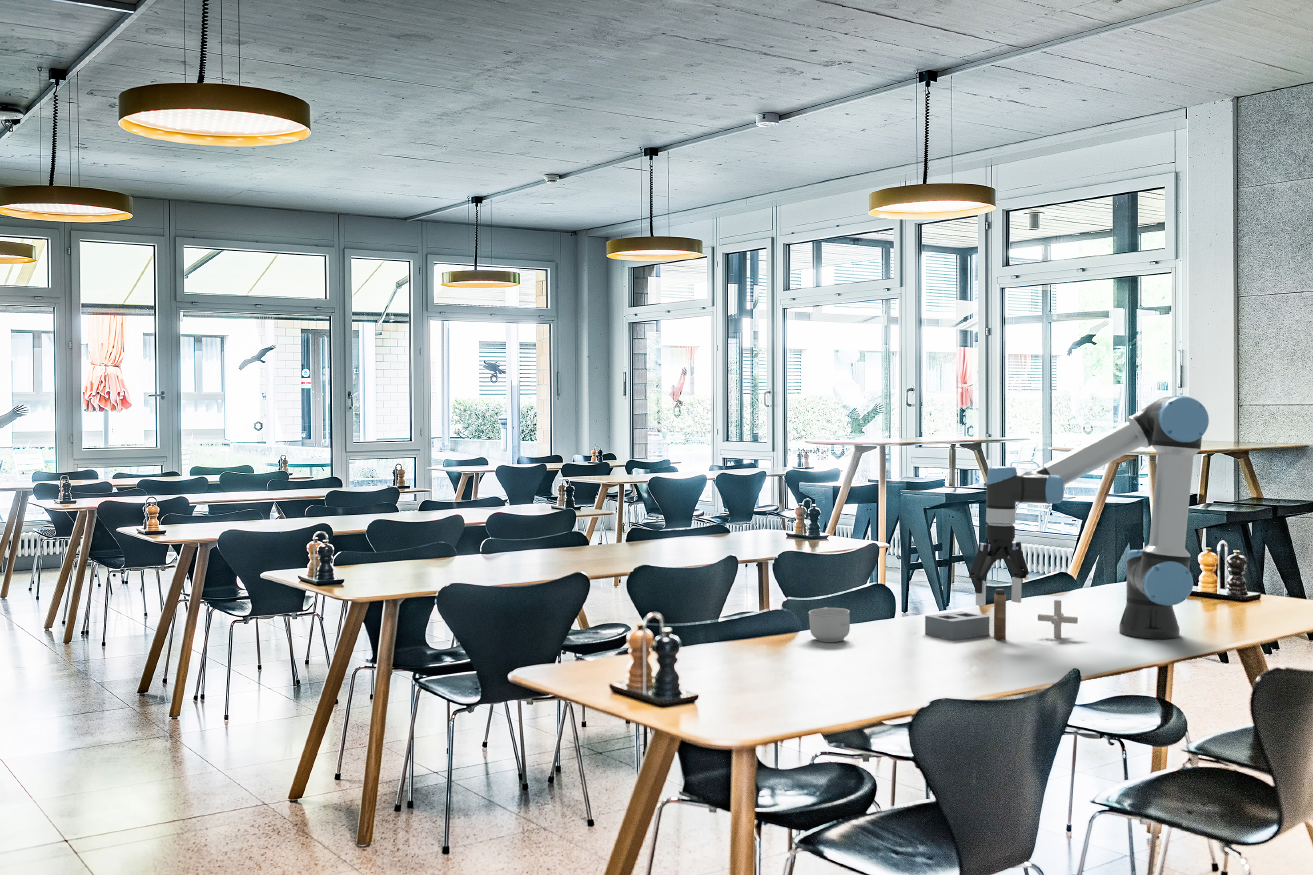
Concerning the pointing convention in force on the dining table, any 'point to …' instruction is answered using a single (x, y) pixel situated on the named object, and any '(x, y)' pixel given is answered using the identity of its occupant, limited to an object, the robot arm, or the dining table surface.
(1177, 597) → the robot arm
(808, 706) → the dining table surface
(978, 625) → the holder block
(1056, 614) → the pipe connector
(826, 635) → the teacup
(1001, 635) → the peg
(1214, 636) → the dining table surface
